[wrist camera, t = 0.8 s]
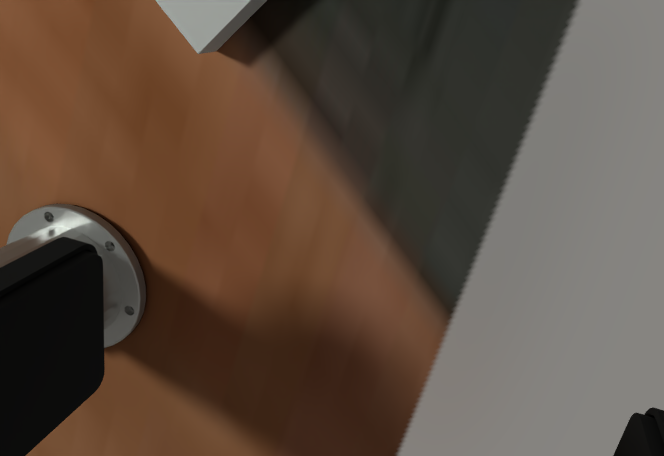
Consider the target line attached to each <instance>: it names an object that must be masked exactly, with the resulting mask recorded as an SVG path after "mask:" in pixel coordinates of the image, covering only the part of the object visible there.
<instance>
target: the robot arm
mask: <svg viewBox="0 0 664 456" xmlns="http://www.w3.org/2000/svg"><path fill="white" fill-rule="evenodd" d="M145 303H146V286H145V281H144V276H143V272H142V270H141V267H140V264H139V262H138V259H137V257H136V256H135V254H134V252H133V250H132V249H131V247H130V245H129V244H128V243H127V242H126V240H125V239H124V238H123V237H122V235H121V234H120V233H119V232H118V231H117V230H116V229H115V228H114V227H113V226H112V225H111V224H110V223H108V222H107V221H105V220H104V219H102V218H101V217H100V216H98V215H97V214H95V213H93V212H90V211H88V210H86V209H84V208H81V207H77V206H74V205H70V204H52V205H45V206H43V207H40V208H38V209H35V210H33V211H31V212H29V213H27V214H26V215H24V216H23V217H22V218H21V219H20V220H19V221H18V222H17V223H16V224H15V225H14V227H13V229H12V231H11V232H10V234H9V238H8V241H7V245H6V246H3V247H1V248H0V456H25V455H26V454H28V453H29V452H30V451H31V450H32V449H33V448H34V447H35V446H36V445H37V444H38V443H40V442H41V441H42V440H43V439H44V438H45V437H46V436H47V435H48V434H49V433H50V432H52V431H53V430H54V429H55V428H56V427H57V426H58V425H59V424H60V423H61V422H62V421H64V420H65V419H66V418H67V417H68V416H69V415H70V414H71V413H72V412H73V411H75V410H76V409H77V408H78V407H79V406H80V405H81V404H82V403H83V402H84V401H85V400H87V399H88V398H89V397H90V396H91V395H92V394H93V393H94V392H95V391H96V390H97V389H98V387H99V386H100V384H101V382H102V380H103V377H104V348H106V347H110V346H113V345H115V344H117V343H118V342H120V341H122V340H123V339H124V338H125V337H127V336H128V335H129V334H130V333H131V332H132V331H133V330H134V329H135V327H136V326H137V325H138V324H139V322H140V319H141V317H142V315H143V313H144V308H145ZM614 456H664V411H663V410H660V409H656V408H650V409H649V410H648V411H647V412H646V413H645V415H643V414H639V413H634V414H633V415H632V416H631V418H630V420H629V422H628V424H627V427H626V429H625V431H624V433H623V436H622V438H621V440H620V442H619V444H618V447H617V449H616V451H615V453H614Z"/></svg>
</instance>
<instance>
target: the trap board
mask: <svg viewBox="0 0 664 456" xmlns="http://www.w3.org/2000/svg"><path fill="white" fill-rule="evenodd" d="M156 1H157V3H158V4H159V5H160V7H161V8H162V9H163V10H164V12H165V13H166V14H167V15H168V17H169V18H170V19H171V20H172V22H173V23H174V24H175V25H176V27H177V28H178V29H179V31H180V32H181V33H182V34H183V36H184V37H185V38H186V39H187V41H188V42H189V43H190V44H191V46H192V47H193V48H194V49H195V51H196V52H197V53H198V54H201V53H208V52H215V51H217V50H218V49H219V48H220V47H221V46H222V45H223V44H224V43H225V42H226V41H227V40H228V39H229V38H230V37H231V36H232V35H233V34H234V33H235V32H236V31H237V30H238V29H239V28H240V27H241V26H242V25H243V24H244V23H245V22H246V21H247V20H248V19H249V18H250V17H251V16H252V15H253V14H254V13H255V12H256V11H257V10H258V9H259V8H260V7H261V6H262V5H263V4H264V3H265V2H266V1H267V0H156Z"/></svg>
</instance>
